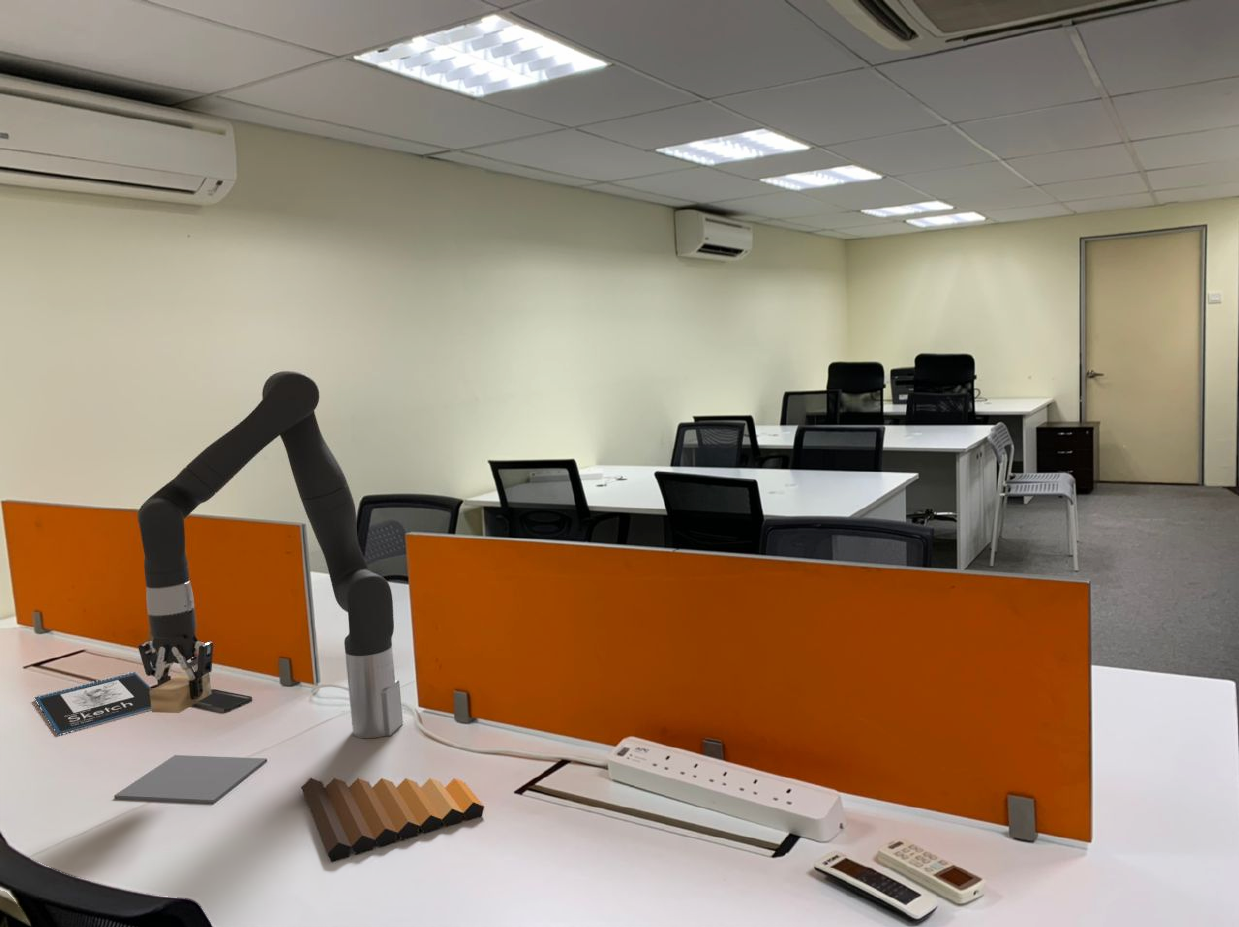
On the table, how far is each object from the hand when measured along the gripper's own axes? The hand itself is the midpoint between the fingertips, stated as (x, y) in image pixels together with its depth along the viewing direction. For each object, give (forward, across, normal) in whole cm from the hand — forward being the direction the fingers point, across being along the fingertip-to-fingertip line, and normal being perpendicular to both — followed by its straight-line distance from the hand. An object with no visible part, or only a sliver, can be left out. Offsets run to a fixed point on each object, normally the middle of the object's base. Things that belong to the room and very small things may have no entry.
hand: (181, 697), depth 162 cm
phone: (+17, -20, +36) cm, 44 cm away
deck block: (+1, 0, 0) cm, 1 cm away
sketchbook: (+17, -49, +34) cm, 62 cm away
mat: (+16, 0, 0) cm, 16 cm away
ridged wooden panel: (+17, +42, -5) cm, 45 cm away
